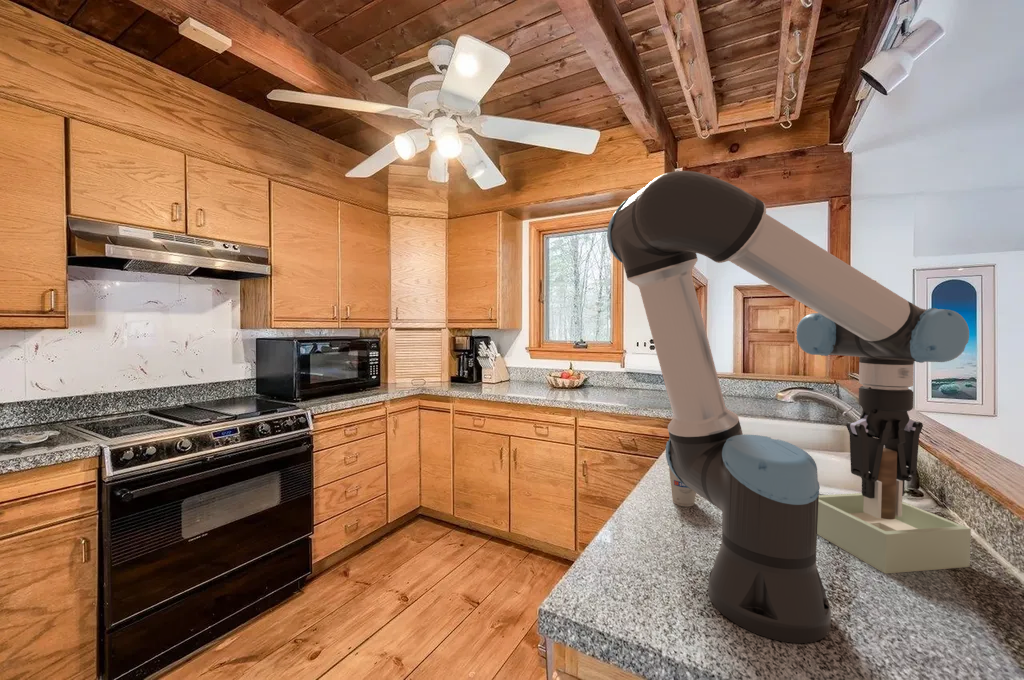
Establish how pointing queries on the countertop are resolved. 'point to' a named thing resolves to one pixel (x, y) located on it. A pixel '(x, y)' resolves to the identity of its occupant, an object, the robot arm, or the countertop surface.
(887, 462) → the peg
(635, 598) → the countertop surface
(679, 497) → the coffee cup
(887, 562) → the peg box
